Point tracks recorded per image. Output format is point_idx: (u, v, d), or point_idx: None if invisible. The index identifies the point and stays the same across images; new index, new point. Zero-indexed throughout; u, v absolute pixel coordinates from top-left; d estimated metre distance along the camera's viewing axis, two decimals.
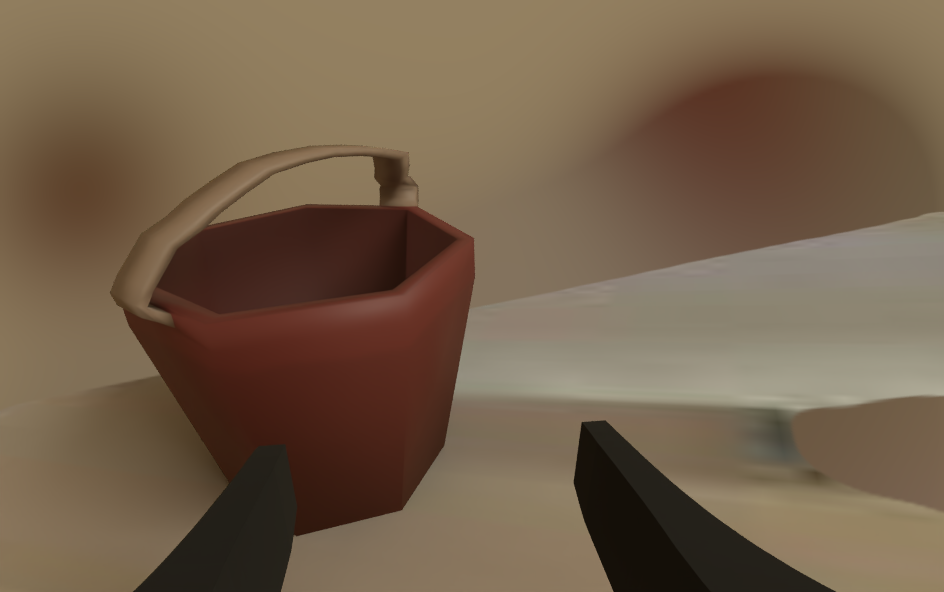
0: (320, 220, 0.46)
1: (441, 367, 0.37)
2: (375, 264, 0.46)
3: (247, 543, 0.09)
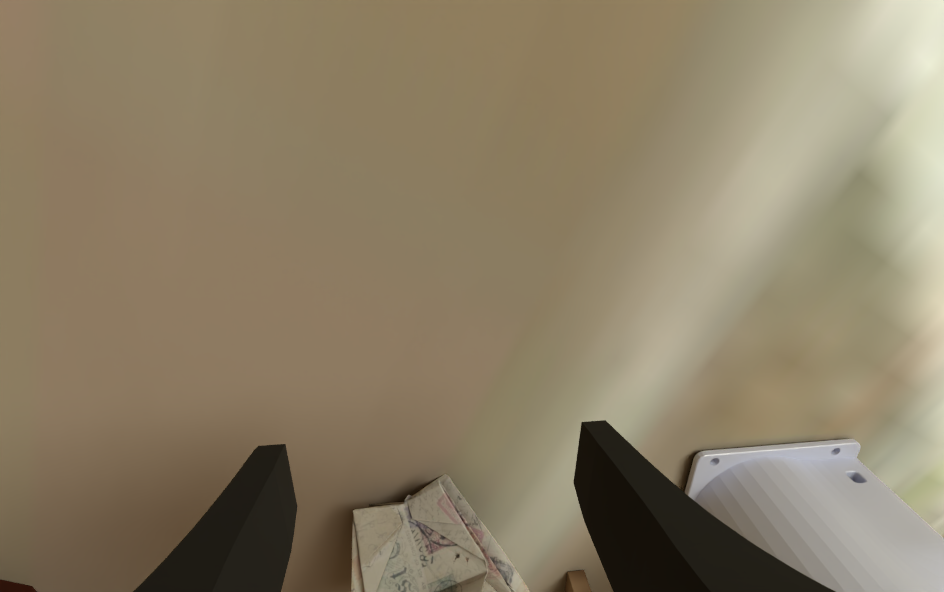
0: None
1: None
2: None
3: (247, 542, 0.09)
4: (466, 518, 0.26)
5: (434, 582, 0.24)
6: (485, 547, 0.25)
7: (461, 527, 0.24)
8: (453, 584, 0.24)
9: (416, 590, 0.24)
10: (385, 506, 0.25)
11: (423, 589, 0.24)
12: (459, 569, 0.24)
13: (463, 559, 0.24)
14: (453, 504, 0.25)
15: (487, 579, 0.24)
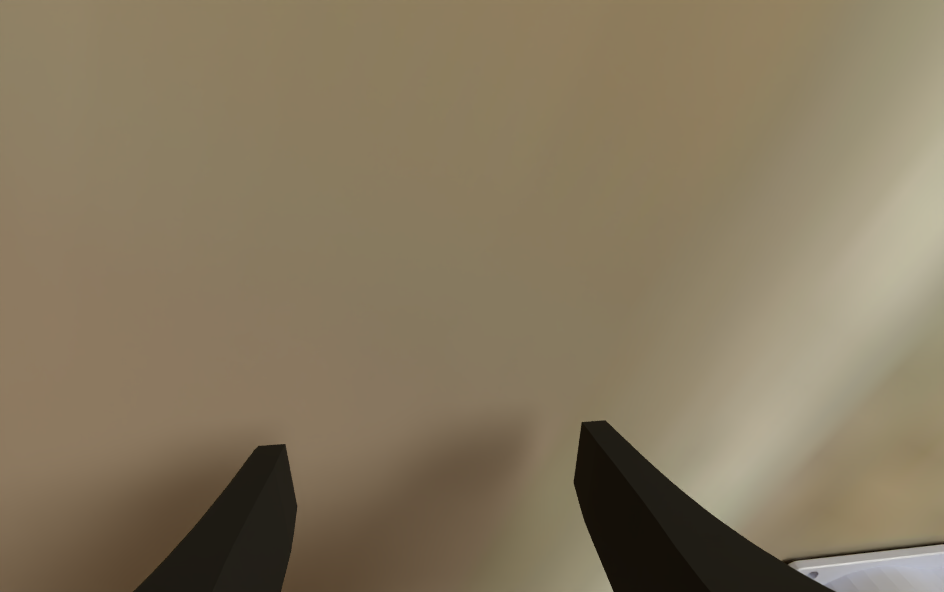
0: None
1: None
2: None
3: (247, 543, 0.09)
4: None
5: None
6: None
7: None
8: None
9: None
10: None
11: None
12: None
13: None
14: None
15: None
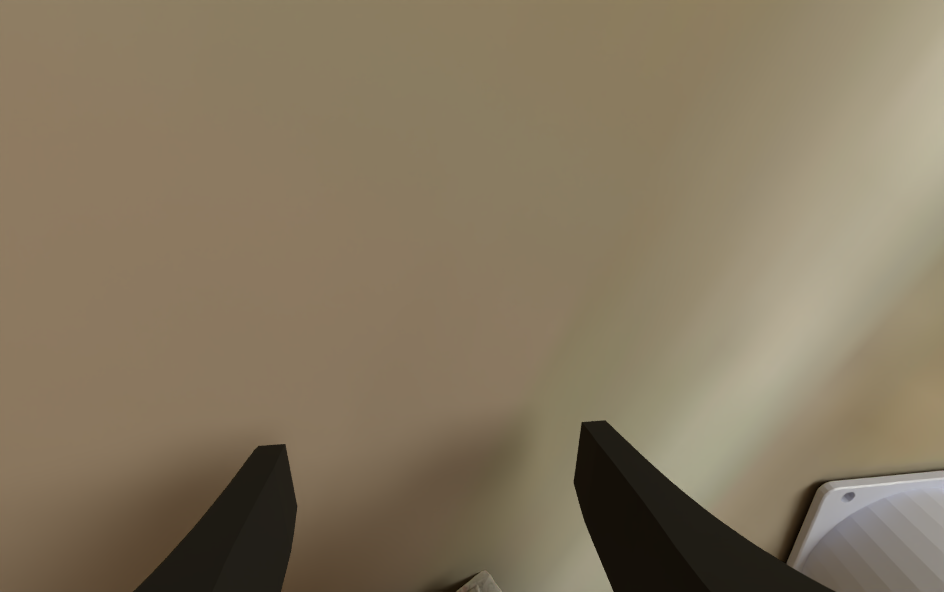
0: None
1: None
2: None
3: (247, 543, 0.09)
4: None
5: None
6: None
7: None
8: None
9: None
10: None
11: None
12: None
13: None
14: None
15: None
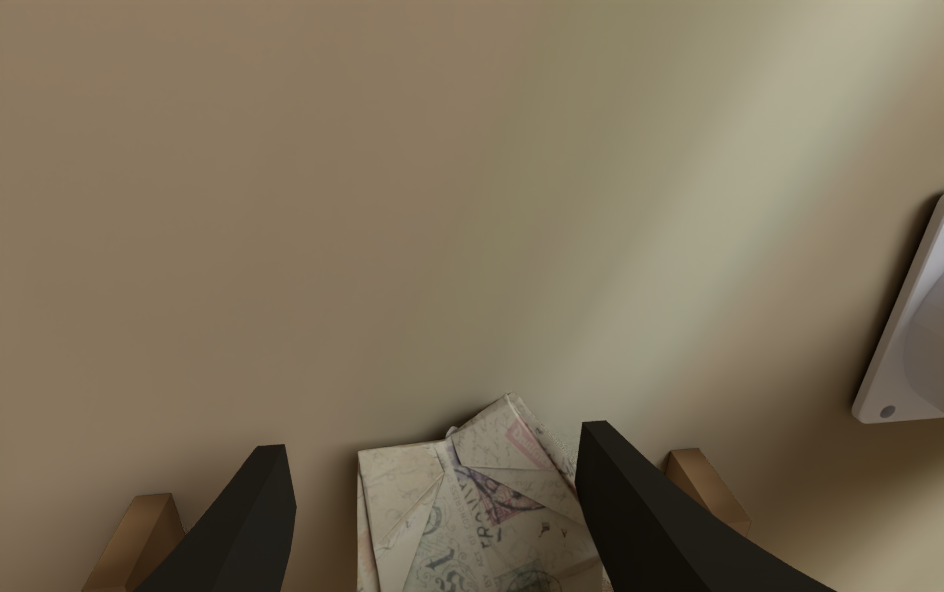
0: None
1: None
2: None
3: (246, 543, 0.09)
4: None
5: (506, 574, 0.13)
6: None
7: (552, 475, 0.13)
8: (542, 577, 0.13)
9: (474, 589, 0.13)
10: (413, 445, 0.15)
11: (487, 588, 0.13)
12: (551, 551, 0.13)
13: (558, 532, 0.13)
14: (534, 437, 0.14)
15: None
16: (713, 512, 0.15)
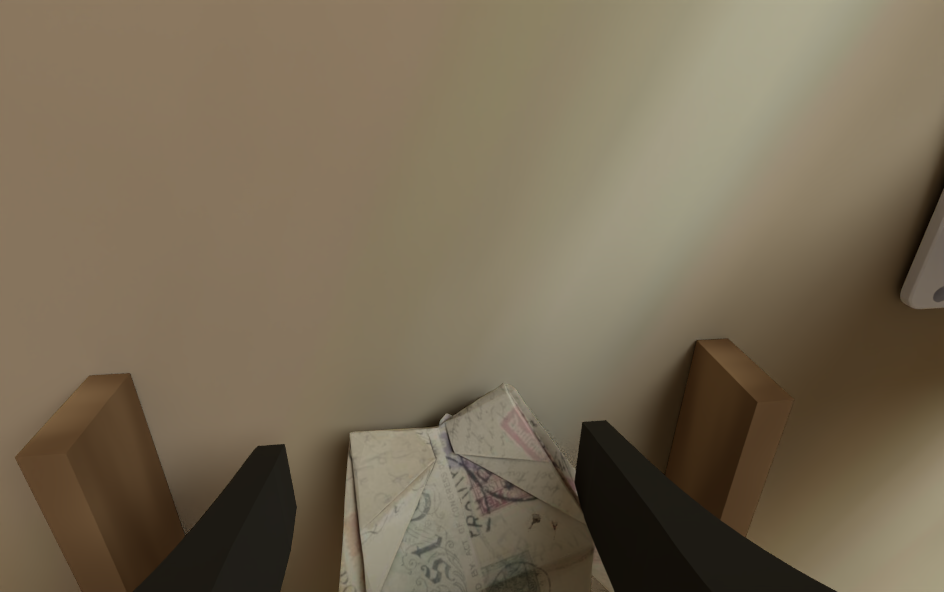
0: None
1: None
2: None
3: (246, 542, 0.09)
4: None
5: (493, 565, 0.13)
6: None
7: (546, 467, 0.13)
8: (530, 569, 0.13)
9: (460, 578, 0.13)
10: (406, 429, 0.14)
11: (473, 578, 0.13)
12: (540, 543, 0.13)
13: (548, 524, 0.13)
14: (530, 427, 0.14)
15: None
16: (750, 392, 0.13)
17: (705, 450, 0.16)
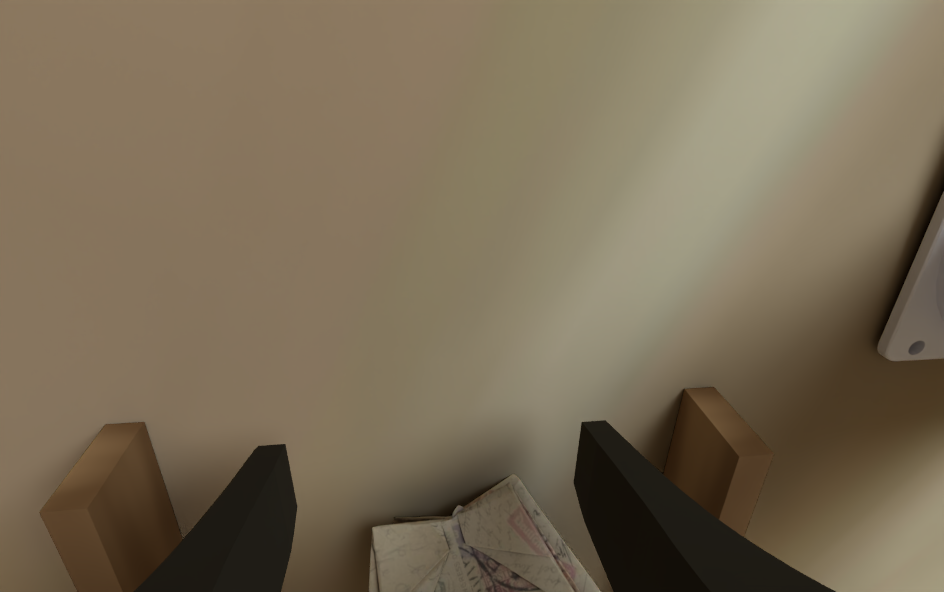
0: None
1: None
2: None
3: (247, 542, 0.09)
4: None
5: None
6: None
7: (548, 561, 0.15)
8: None
9: None
10: (423, 522, 0.16)
11: None
12: None
13: None
14: (533, 523, 0.15)
15: None
16: (732, 445, 0.14)
17: (691, 494, 0.16)
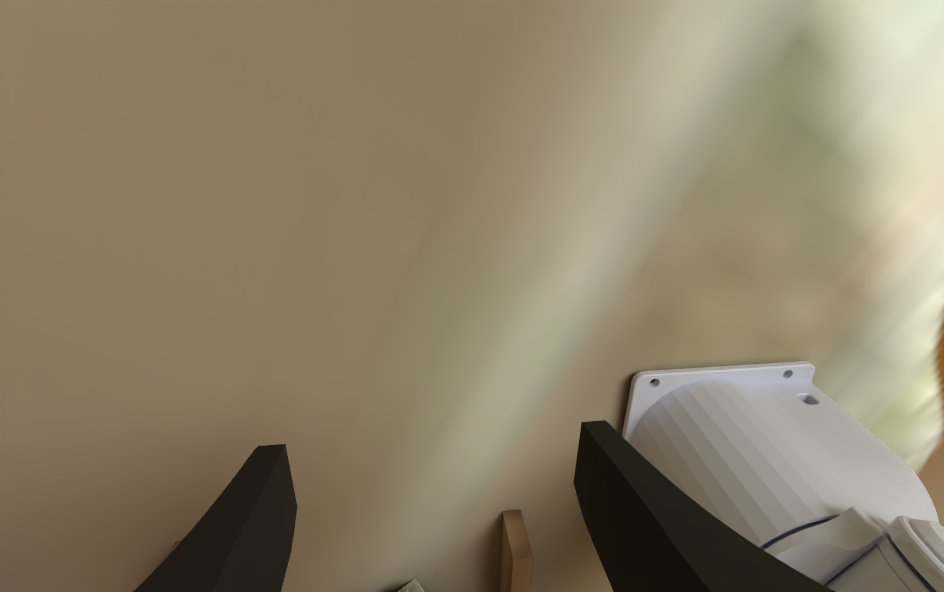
0: None
1: None
2: None
3: (247, 542, 0.09)
4: None
5: None
6: None
7: None
8: None
9: None
10: None
11: None
12: None
13: None
14: None
15: None
16: (513, 552, 0.26)
17: (505, 572, 0.28)
